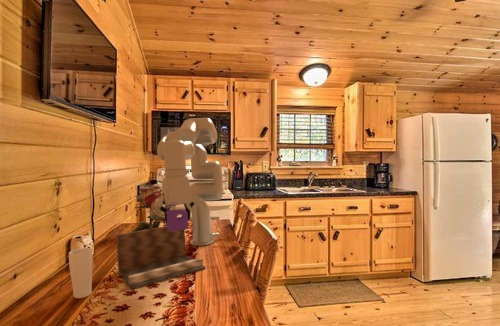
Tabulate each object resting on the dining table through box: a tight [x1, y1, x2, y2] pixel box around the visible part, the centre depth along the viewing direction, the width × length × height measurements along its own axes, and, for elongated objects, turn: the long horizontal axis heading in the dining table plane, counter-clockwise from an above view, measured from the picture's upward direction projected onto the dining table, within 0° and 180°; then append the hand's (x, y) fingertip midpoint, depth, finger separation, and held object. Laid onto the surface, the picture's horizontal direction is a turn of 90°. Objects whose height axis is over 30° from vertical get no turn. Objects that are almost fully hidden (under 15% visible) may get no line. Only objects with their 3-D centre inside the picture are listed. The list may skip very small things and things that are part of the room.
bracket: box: [165, 208, 189, 231], centre depth 108 cm, size 12×7×7 cm, turn 20°
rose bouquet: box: [131, 183, 177, 232], centre depth 181 cm, size 26×29×30 cm
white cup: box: [68, 247, 94, 299], centre depth 98 cm, size 7×7×15 cm
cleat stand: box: [116, 225, 206, 290], centre depth 118 cm, size 28×21×15 cm
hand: (178, 221), depth 109 cm, fingers closed on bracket, 6 cm apart
